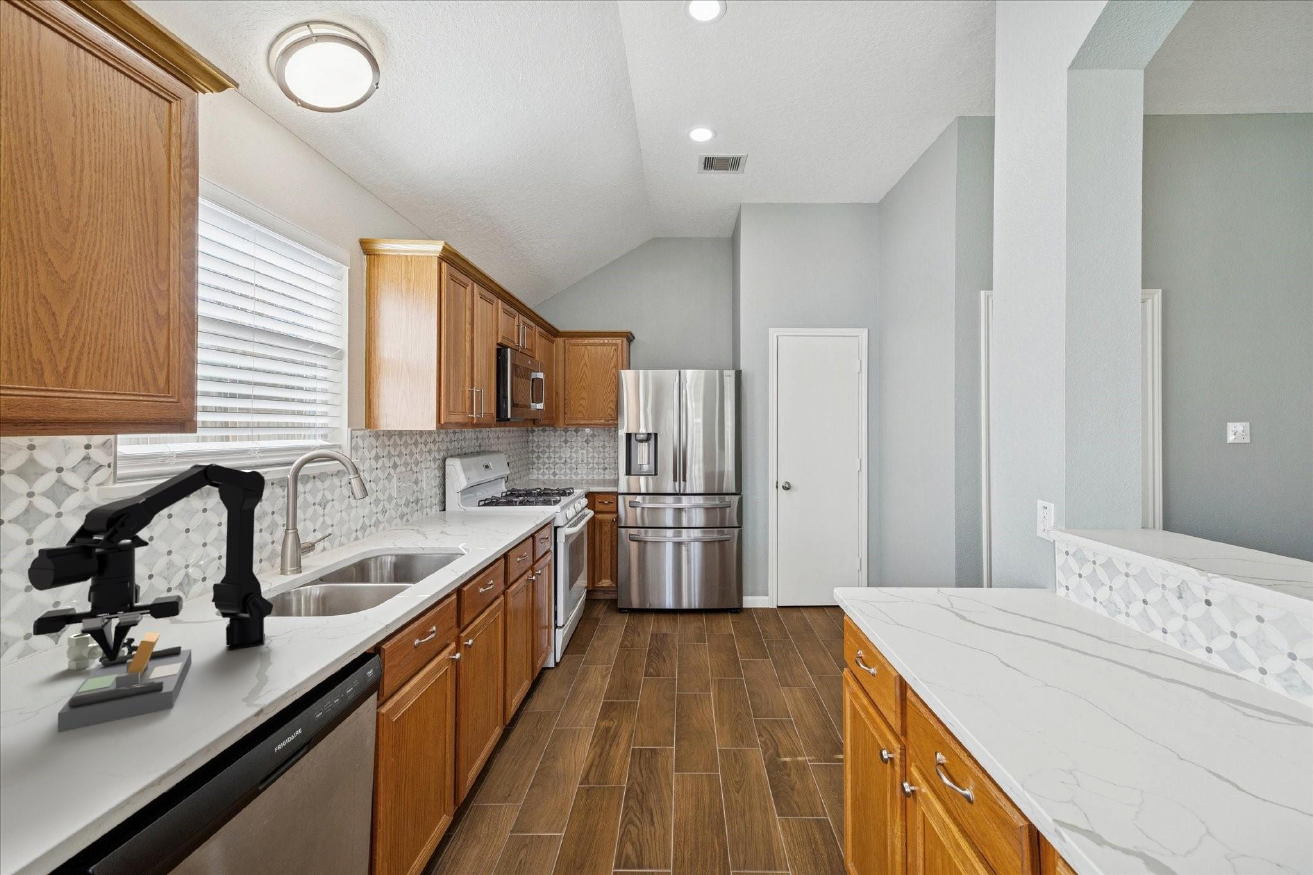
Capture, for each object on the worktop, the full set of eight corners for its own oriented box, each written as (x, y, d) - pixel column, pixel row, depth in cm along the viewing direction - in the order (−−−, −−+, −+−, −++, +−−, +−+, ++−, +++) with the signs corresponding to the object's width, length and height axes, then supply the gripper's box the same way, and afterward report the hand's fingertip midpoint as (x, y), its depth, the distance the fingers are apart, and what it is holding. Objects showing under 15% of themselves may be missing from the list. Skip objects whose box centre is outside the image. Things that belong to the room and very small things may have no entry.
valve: (53, 672, 110) (103, 677, 108) (53, 640, 110) (102, 644, 108) (91, 659, 117) (139, 663, 115) (91, 628, 116) (139, 631, 115)
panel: (191, 663, 114) (191, 639, 114) (172, 707, 96) (172, 679, 96) (98, 679, 107) (97, 654, 107) (58, 731, 88) (57, 701, 88)
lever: (145, 667, 104) (160, 633, 105) (139, 677, 100) (155, 641, 101) (132, 666, 103) (147, 632, 104) (125, 675, 99) (141, 640, 100)
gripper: (186, 560, 112) (186, 636, 112) (54, 573, 101) (54, 657, 101) (178, 572, 102) (178, 655, 102) (31, 587, 92) (31, 679, 92)
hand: (113, 660), depth 100 cm, fingers closed
